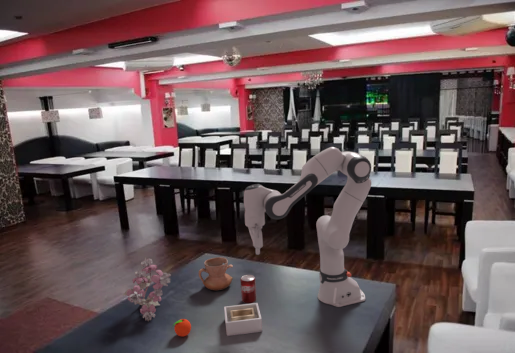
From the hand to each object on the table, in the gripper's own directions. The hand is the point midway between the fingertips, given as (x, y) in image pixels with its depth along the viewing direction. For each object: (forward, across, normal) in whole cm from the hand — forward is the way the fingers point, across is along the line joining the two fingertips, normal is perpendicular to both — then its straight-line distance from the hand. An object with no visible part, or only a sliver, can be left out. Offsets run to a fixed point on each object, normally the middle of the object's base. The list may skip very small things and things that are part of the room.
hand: (256, 249), depth 176 cm
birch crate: (+28, -12, +9) cm, 32 cm away
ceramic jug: (+29, +26, +19) cm, 44 cm away
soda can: (+29, +8, +4) cm, 31 cm away
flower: (+29, +7, +51) cm, 59 cm away
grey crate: (+29, -12, +9) cm, 33 cm away
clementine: (+29, -14, +35) cm, 48 cm away
